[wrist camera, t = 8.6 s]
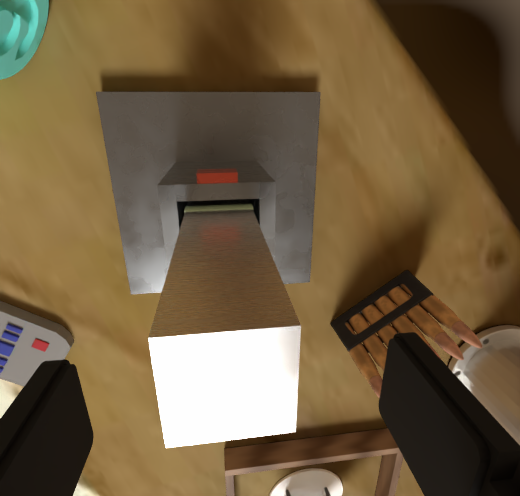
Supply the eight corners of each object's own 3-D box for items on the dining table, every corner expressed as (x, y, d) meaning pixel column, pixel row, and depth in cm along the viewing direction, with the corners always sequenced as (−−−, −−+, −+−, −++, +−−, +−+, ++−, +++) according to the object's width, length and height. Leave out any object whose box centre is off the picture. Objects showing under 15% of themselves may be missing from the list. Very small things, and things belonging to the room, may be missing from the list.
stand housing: (315, 93, 29) (373, 81, 19) (306, 275, 36) (344, 342, 25) (101, 92, 27) (30, 79, 17) (134, 286, 34) (98, 365, 23)
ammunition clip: (407, 269, 37) (487, 334, 26) (414, 280, 38) (495, 348, 27) (329, 323, 39) (375, 406, 28) (337, 332, 40) (386, 417, 29)
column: (246, 192, 24) (302, 323, 9) (247, 244, 26) (297, 433, 10) (189, 194, 24) (146, 336, 8) (193, 247, 25) (164, 449, 10)
